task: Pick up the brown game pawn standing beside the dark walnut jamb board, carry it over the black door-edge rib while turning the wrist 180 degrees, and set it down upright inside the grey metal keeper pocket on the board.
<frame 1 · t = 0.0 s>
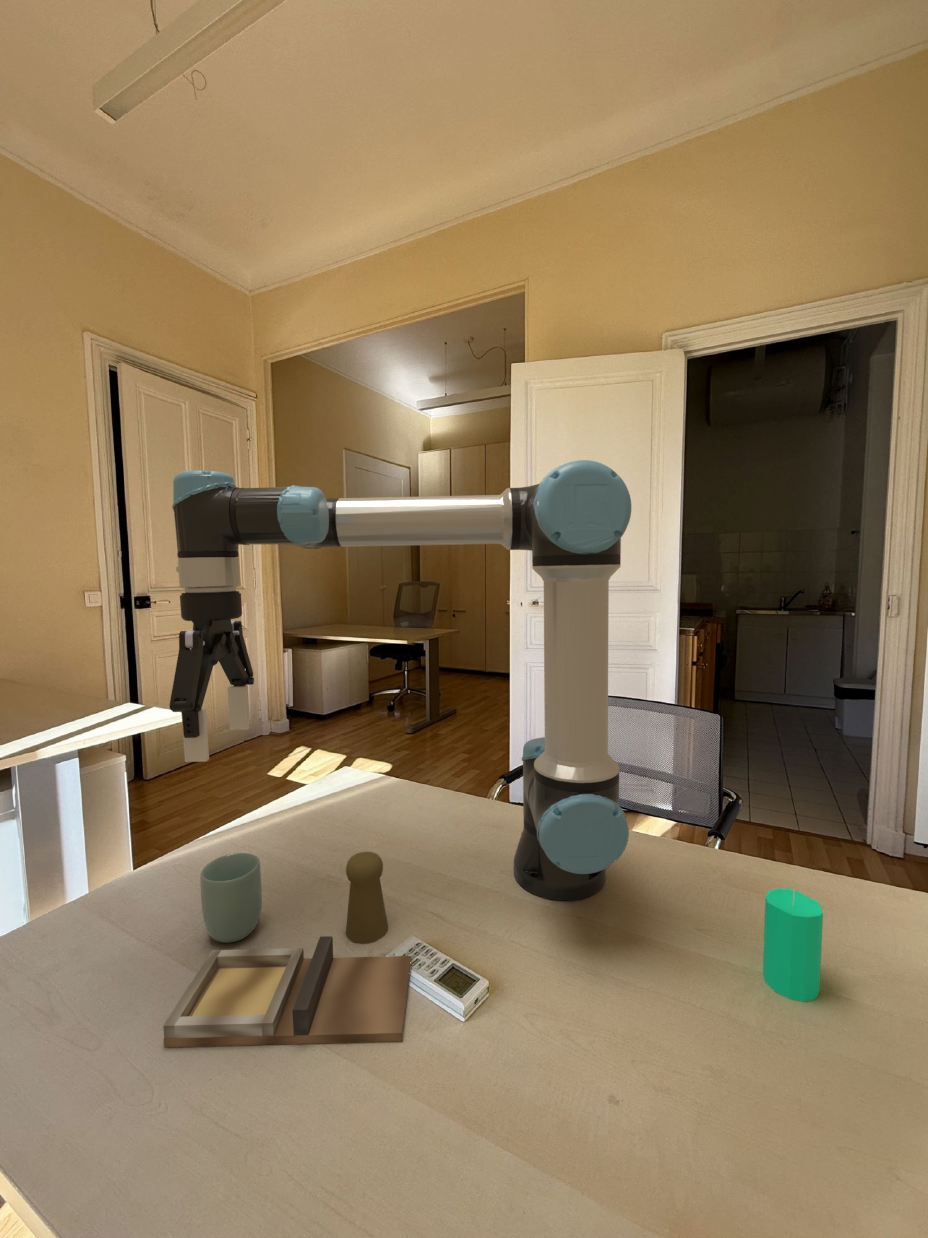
hand: (220, 743, 76), 28 cm above the table, fingers open, 13 cm apart
brown game pawn: (367, 931, 79), on the table
candle: (790, 984, 68), on the table
cup: (234, 934, 79), on the table
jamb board: (299, 1001, 66), on the table
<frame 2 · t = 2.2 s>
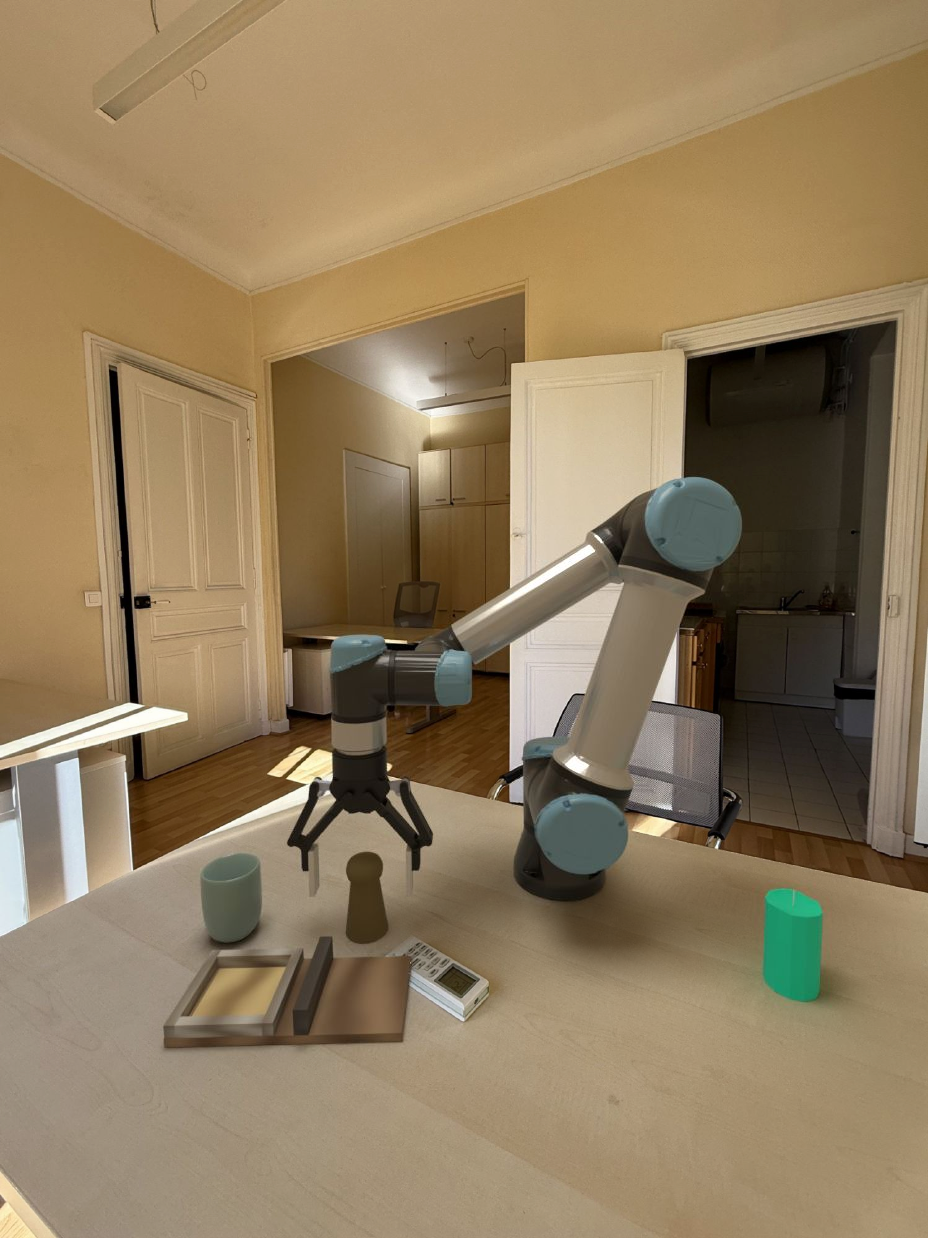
hand: (362, 891, 79), 6 cm above the table, fingers open, 13 cm apart
nothing on the table moved.
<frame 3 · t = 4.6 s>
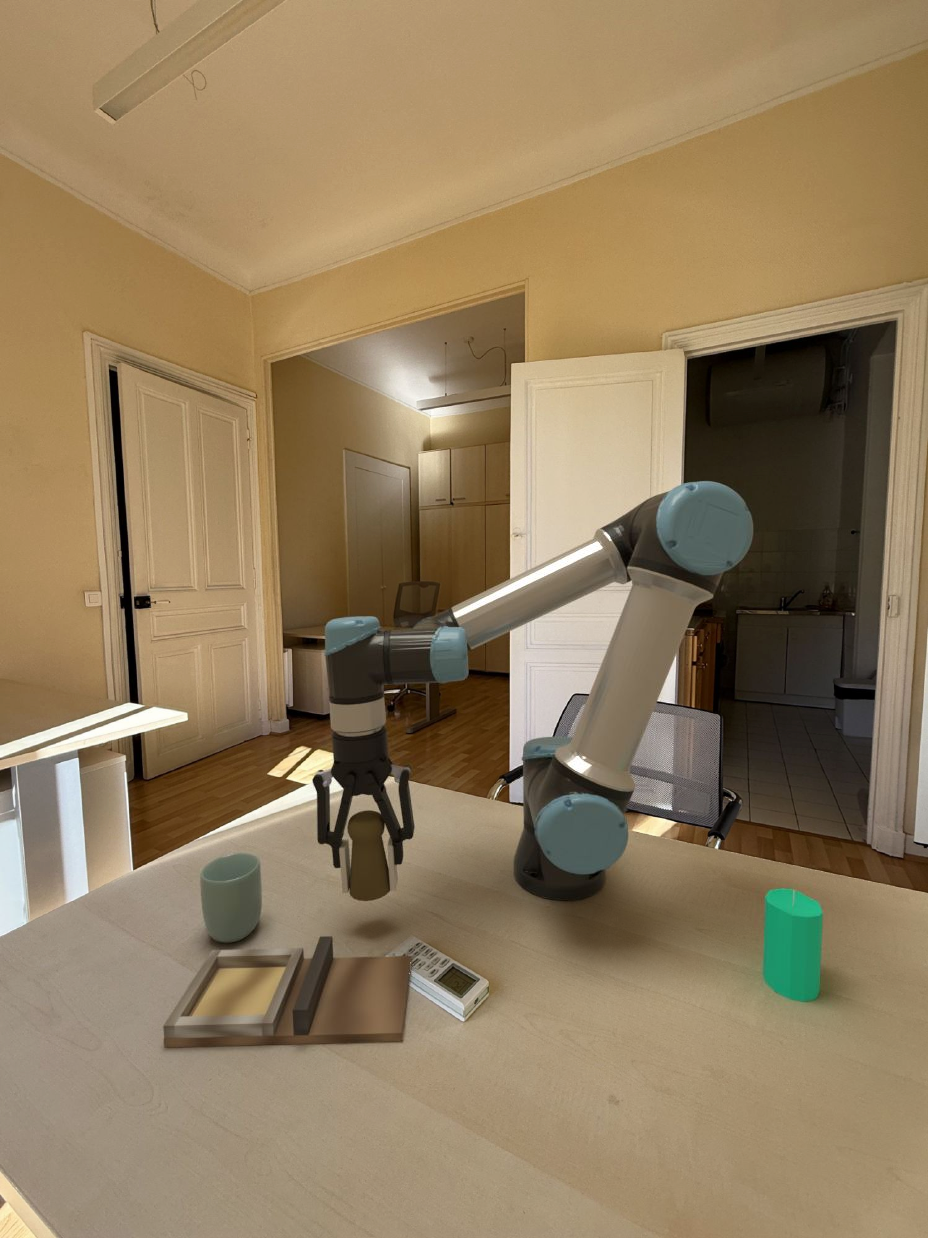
hand: (370, 886, 79), 7 cm above the table, fingers closed on brown game pawn, 6 cm apart
brown game pawn: (370, 889, 79), point 6 cm above the table, touching gripper
everything else where it was.
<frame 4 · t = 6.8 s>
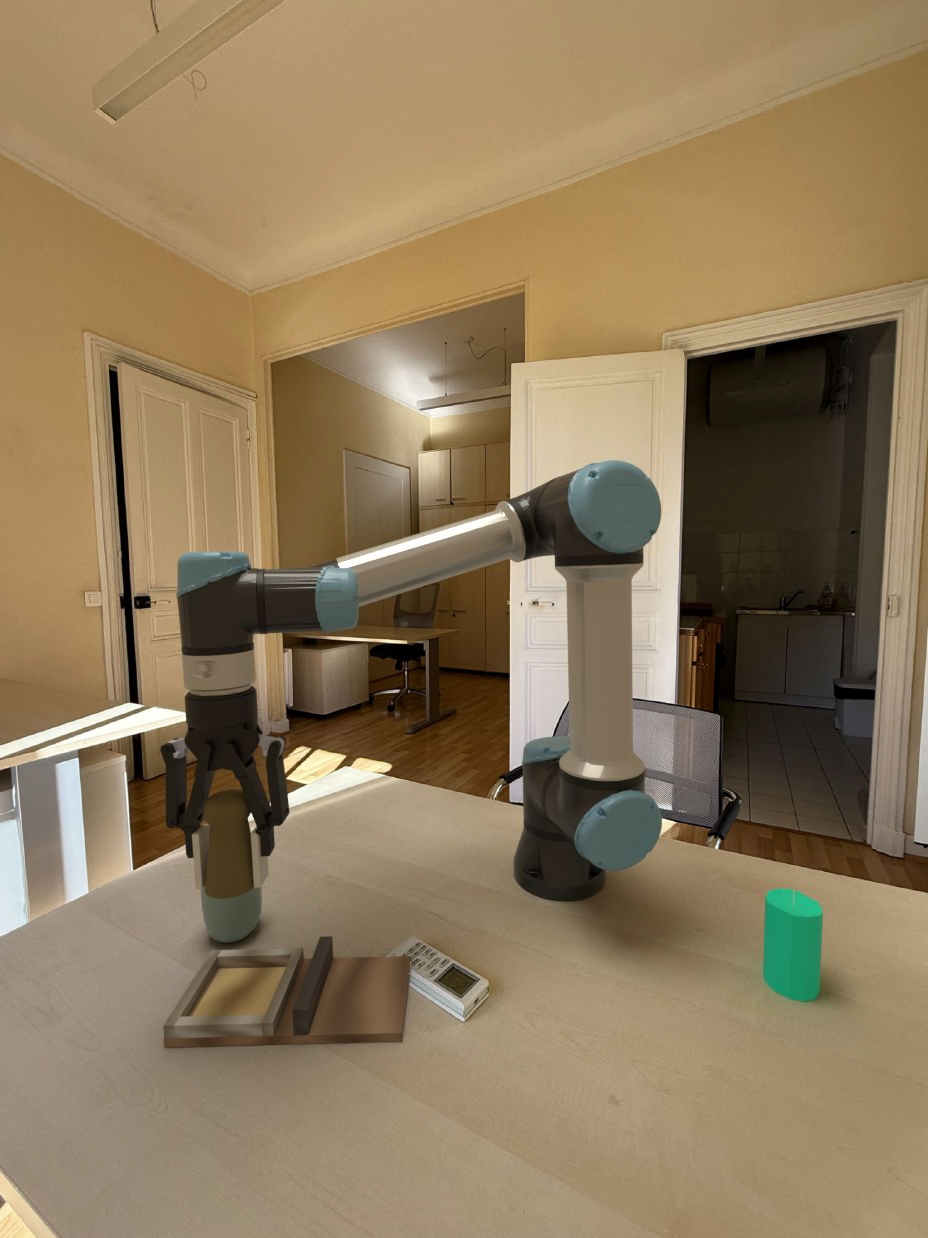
hand: (232, 881, 65), 15 cm above the table, fingers closed on brown game pawn, 6 cm apart
brown game pawn: (233, 885, 65), point 15 cm above the table, touching gripper
everything else where it was.
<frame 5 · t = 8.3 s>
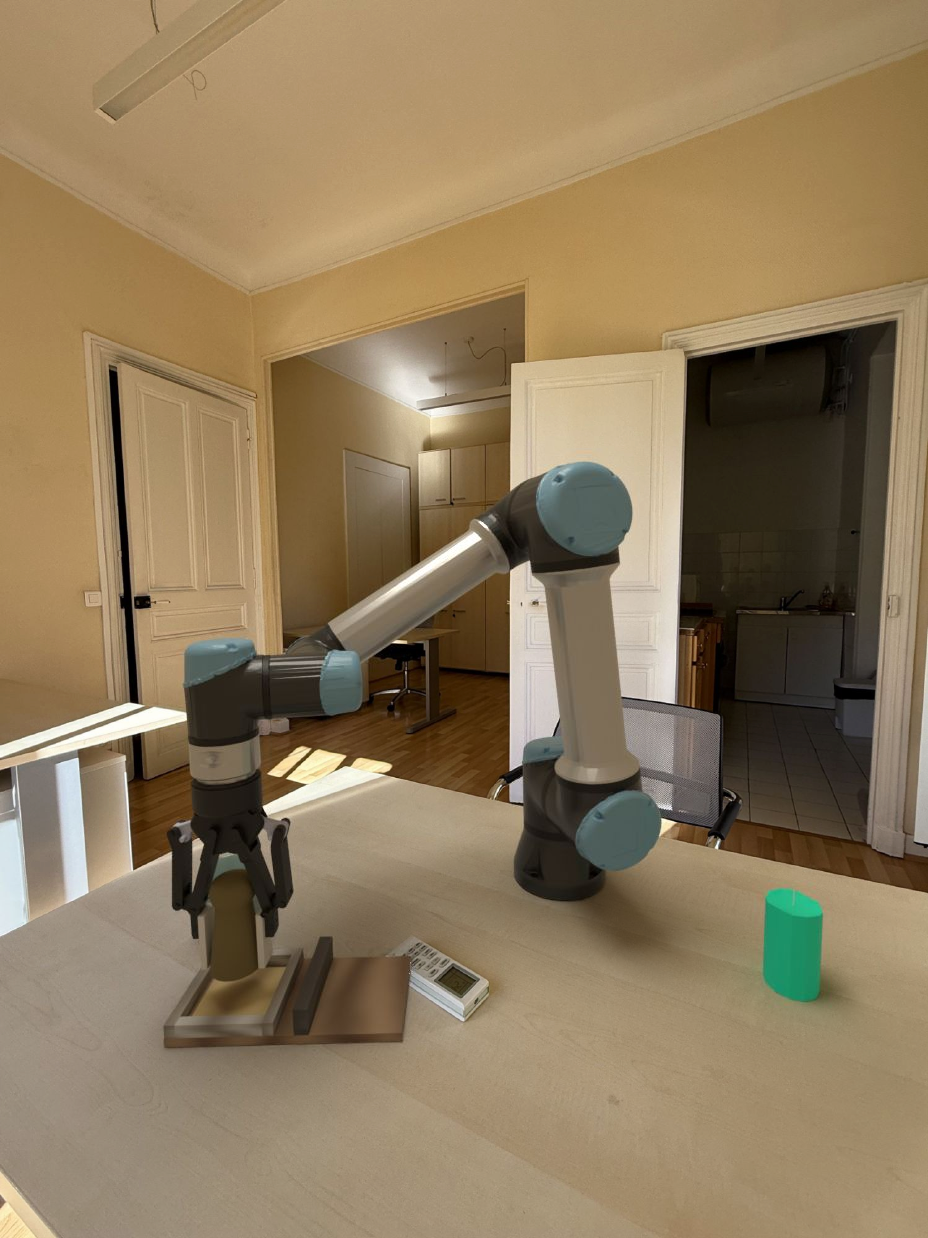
hand: (237, 960, 66), 5 cm above the table, fingers closed on brown game pawn, 6 cm apart
brown game pawn: (237, 964, 66), point 5 cm above the table, touching gripper
everything else where it was.
when the fingers open (3 cm above the table, at t = 9.5 s): brown game pawn drops 2 cm, resting on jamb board.
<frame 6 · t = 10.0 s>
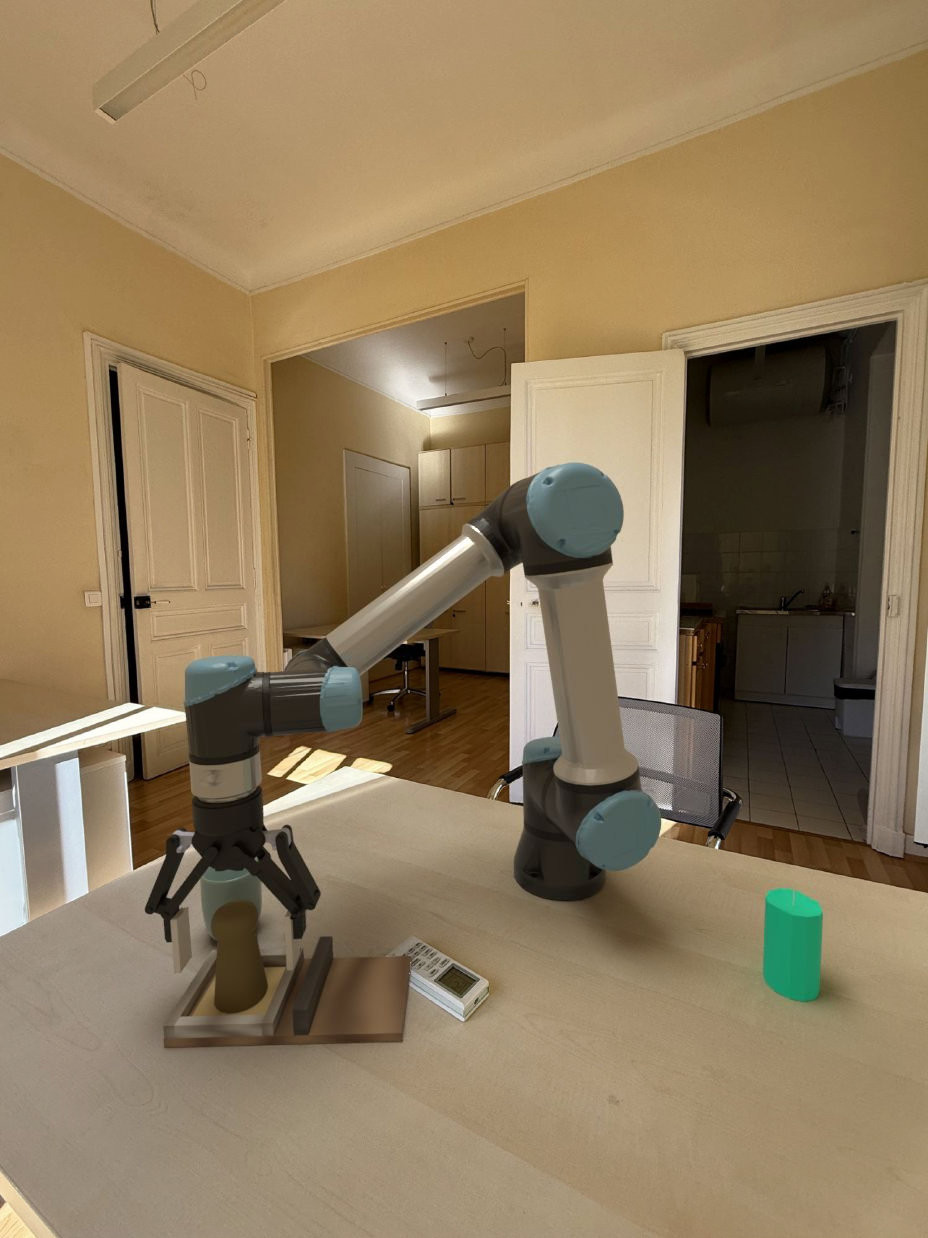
hand: (238, 963, 66), 5 cm above the table, fingers open, 12 cm apart
brown game pawn: (241, 994, 66), point 1 cm above the table, touching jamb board
everything else where it was.
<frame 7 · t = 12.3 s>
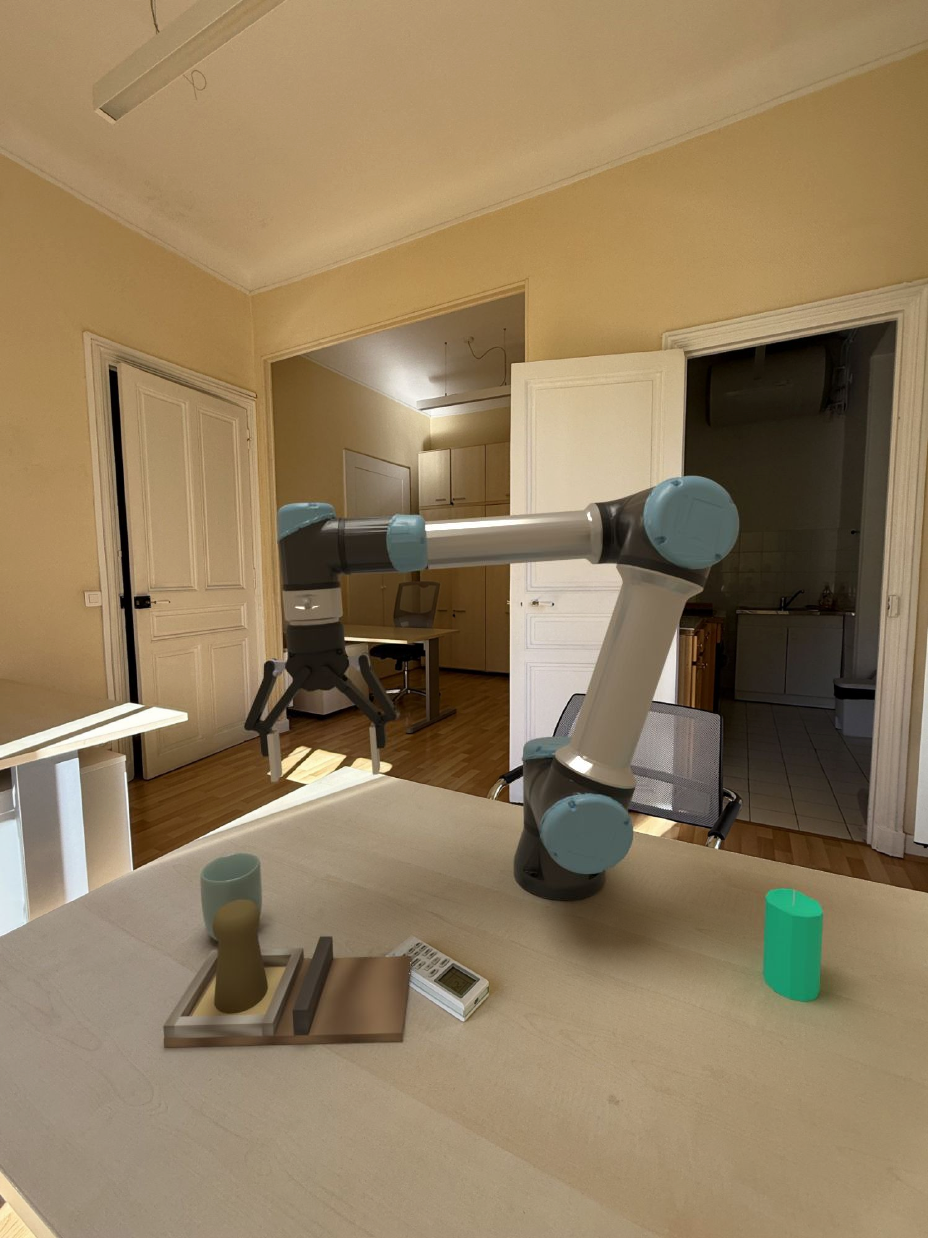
hand: (327, 775, 76), 24 cm above the table, fingers open, 13 cm apart
nothing on the table moved.
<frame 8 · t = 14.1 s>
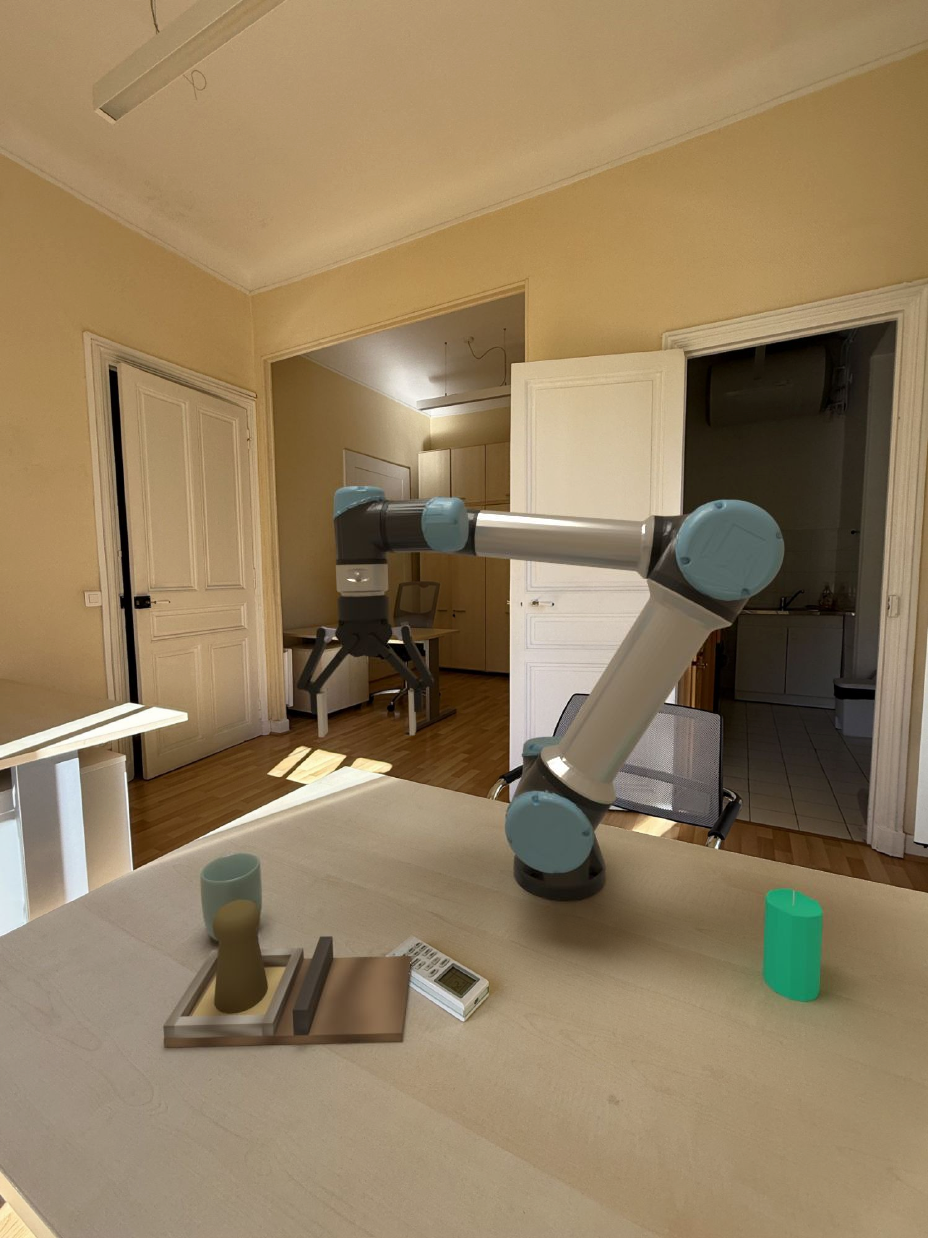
hand: (368, 733, 84), 27 cm above the table, fingers open, 13 cm apart
nothing on the table moved.
at the end: brown game pawn 0.1 cm from the target spot on the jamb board, point 1.0 cm above the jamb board's base; brown game pawn tilted 0°; the gripper is holding nothing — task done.
